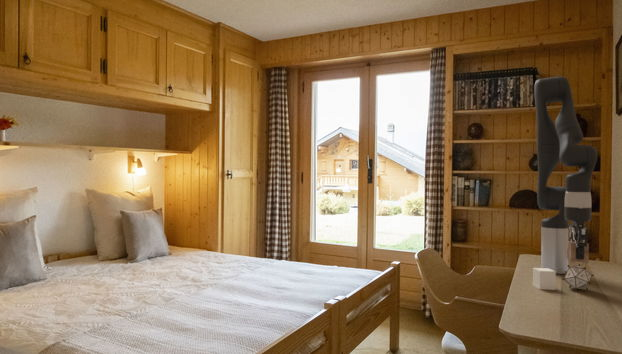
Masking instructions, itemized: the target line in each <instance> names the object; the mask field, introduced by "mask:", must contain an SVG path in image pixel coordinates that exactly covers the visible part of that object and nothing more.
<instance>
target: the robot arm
mask: <svg viewBox="0 0 622 354" xmlns="http://www.w3.org/2000/svg"><path fill="white" fill-rule="evenodd" d="M533 88H534V89H533V90H534V91H533V93H534V106H535V113H536V114H535V115H536V117H535V118H536V153H537V154H536V156H537V157H536V158H537V192H536V196H537V197H536V199H537V200H536V202H537V206H538V208H539V209H540V210H546V211H547V210H548V211H558V213H557V214H555V215H554V216H551V217H548V218H547V217H546V218H543V219H542V220H541V223H540V224H541V225H540V226H541V229H540V232H541V234H540V235H541V236H540V241H541V242H540V243H541V245H540V247H541V250H540V253H541V256H540V257H541V259H540V260H541V261H540V268H549V269H551V270H553V271H556V274H559V275H560V274H562V275H565V274H566V273H565V271H567V270H568V268H569V267H568V265H569V260H568V259H567V241H575V243H576V245H575V246H576V259H579V260H583V259H584V248H585V247H587V243H588V238H589V237H588V236H589V229H588V228H587V226H585V222H590V221H592V194H591V192H592V190H591V186H592V185H591V181H592V176H593V172H594V169H595V166H596V163H597V159H598V151H597V149H596V148H595V147H594V146H593V145H591V144H590V145H589V144H581V143H582V141H583V139H584V133H583V131H582V129H581V126H580V124H579V121H578V117H577V115H576V110H575V109H576V108H575V103H574V99H573V94H572V89H571V85H570V82H569V79H568V78H567V77H566V76H563V75H562V76H551V77H545V78H544V77H543V78H539V79H537V80H535V83H534V87H533ZM559 102H561V104H562V105H561V109H560V110H559V113H558V115H557V117H556V119H555V122H554V121H553V119H552V117H551V116H550V114H549V111H548V108H547V107H548V106H547V104H551V103H559ZM559 163H561V164H562V165H563V166H565V167H580V169H579V171H577V172H575V173H570V174H567V175H566V176H565V185H564V186H550V185H549V186H548V185H547V183H548V180H549V178H550V176H551V175H552V173H553V172H554V170H555V168H556V167H557V166H558V165H559ZM569 221H570V223H571V224H569ZM580 242H582V243H580Z"/></svg>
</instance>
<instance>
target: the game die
mask: <svg viewBox="0 0 622 354" xmlns="http://www.w3.org/2000/svg"><path fill="white" fill-rule="evenodd" d="M594 276H595V275H594V274H591V273H590V272H589V271H588V270H587V266H584V267H582V266H581V264H580V263H579V264H578V265H575V266H570V264H568V270H567V271H565V273H564V277H563V278H561V281H565V282H566V283H567V284H568V286H569V288H573V289H574V291H575V292H577V291H578V289H585V290H587V291H588V290H589V289H588V285H589V284H592V282H591V278H592V277H594Z"/></svg>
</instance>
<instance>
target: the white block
mask: <svg viewBox="0 0 622 354" xmlns="http://www.w3.org/2000/svg"><path fill="white" fill-rule="evenodd" d="M556 275H557V273H556V271H553V270H551V269H549V268H541V267H533V268H532V286H533V287H535V288H536V289H538V290H550V291H551V290H552V291H554V290H556V288H557V287H556V283H557V282H556V279H557V277H556Z"/></svg>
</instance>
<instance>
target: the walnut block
mask: <svg viewBox="0 0 622 354" xmlns="http://www.w3.org/2000/svg"><path fill="white" fill-rule="evenodd" d="M580 243H582V241H580ZM589 244H590V243H588V242H587V247H585V248H584V259H583V260H579V259H576V246H575V245H576V243H575V241H569V240H568V241H567V259H568V262H569V261H570V262H572V263H573V262H574V263H575V262H576V263H589V261H590V258H589V256H590V254H589V253H590V252H589V250H590V249H589V248H590V245H589Z"/></svg>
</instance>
